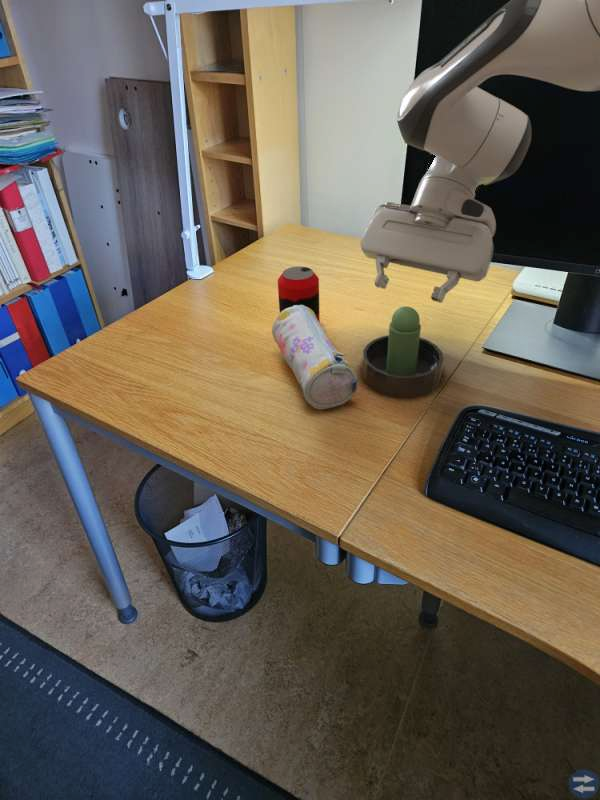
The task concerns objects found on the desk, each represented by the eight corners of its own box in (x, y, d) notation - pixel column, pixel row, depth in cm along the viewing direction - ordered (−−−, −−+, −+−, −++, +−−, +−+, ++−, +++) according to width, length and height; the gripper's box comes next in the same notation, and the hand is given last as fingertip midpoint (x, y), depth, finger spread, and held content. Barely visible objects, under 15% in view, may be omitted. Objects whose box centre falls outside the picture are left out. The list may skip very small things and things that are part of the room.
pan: (447, 361, 98) (450, 341, 96) (431, 404, 89) (434, 384, 86) (374, 348, 102) (375, 329, 100) (352, 388, 93) (352, 368, 90)
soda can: (327, 329, 108) (327, 271, 101) (301, 345, 104) (298, 286, 97) (299, 316, 113) (297, 260, 105) (272, 331, 108) (268, 274, 101)
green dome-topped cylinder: (418, 366, 96) (426, 303, 89) (411, 382, 93) (418, 318, 85) (390, 361, 98) (395, 298, 91) (382, 377, 94) (387, 312, 87)
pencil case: (359, 407, 89) (361, 357, 83) (307, 419, 87) (305, 369, 81) (316, 342, 105) (315, 296, 99) (271, 351, 103) (267, 305, 97)
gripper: (373, 190, 88) (341, 271, 88) (502, 210, 79) (467, 301, 78) (384, 210, 94) (354, 286, 93) (506, 231, 84) (474, 316, 84)
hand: (407, 293), depth 86 cm, fingers open, 8 cm apart
